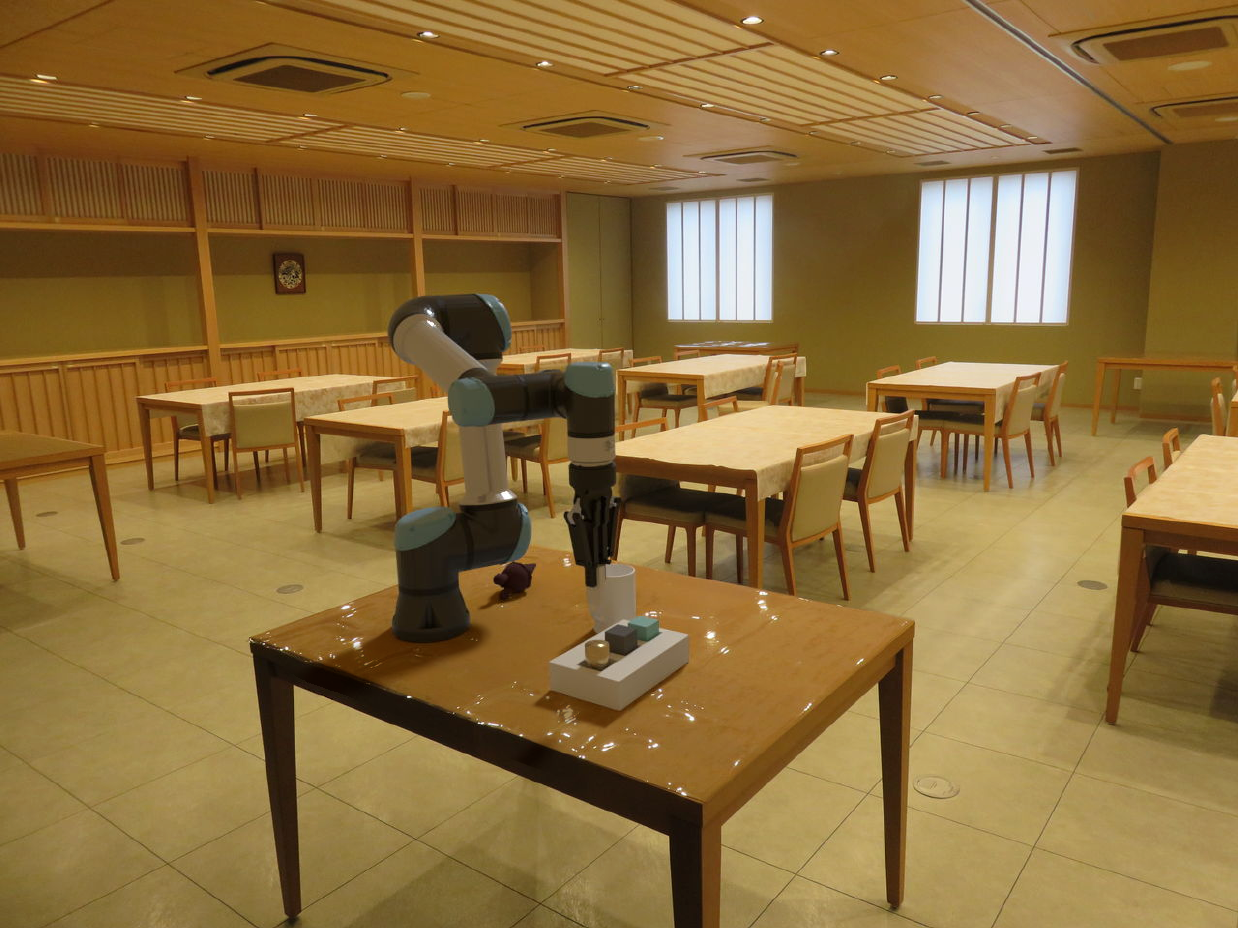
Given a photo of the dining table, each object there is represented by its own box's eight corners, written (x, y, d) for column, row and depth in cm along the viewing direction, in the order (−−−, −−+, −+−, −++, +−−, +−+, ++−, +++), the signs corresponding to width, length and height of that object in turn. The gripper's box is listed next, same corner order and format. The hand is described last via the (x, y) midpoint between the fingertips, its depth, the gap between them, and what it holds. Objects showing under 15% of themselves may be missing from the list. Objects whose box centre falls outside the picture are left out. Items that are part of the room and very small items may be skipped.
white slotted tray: (550, 689, 150) (549, 661, 149) (623, 644, 168) (623, 619, 167) (619, 710, 143) (618, 681, 142) (689, 661, 160) (689, 634, 159)
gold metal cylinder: (580, 671, 149) (580, 645, 148) (595, 662, 152) (594, 637, 151) (600, 677, 146) (599, 651, 145) (614, 668, 150) (614, 642, 149)
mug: (604, 646, 168) (603, 584, 165) (572, 634, 173) (570, 575, 171) (646, 627, 176) (645, 568, 174) (614, 617, 182) (612, 560, 179)
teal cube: (628, 646, 160) (627, 622, 159) (640, 639, 163) (639, 615, 162) (647, 651, 158) (646, 627, 157) (659, 643, 161) (658, 619, 160)
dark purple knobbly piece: (517, 551, 205) (478, 576, 193) (543, 547, 202) (505, 573, 189) (527, 579, 206) (488, 606, 194) (553, 576, 203) (515, 603, 190)
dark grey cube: (605, 656, 154) (604, 631, 153) (618, 648, 157) (617, 624, 157) (624, 661, 152) (624, 636, 151) (637, 653, 155) (637, 628, 154)
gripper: (586, 471, 134) (591, 620, 139) (634, 456, 145) (637, 595, 150) (547, 466, 139) (553, 611, 143) (596, 452, 149) (600, 587, 154)
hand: (596, 603), depth 147 cm, fingers closed
